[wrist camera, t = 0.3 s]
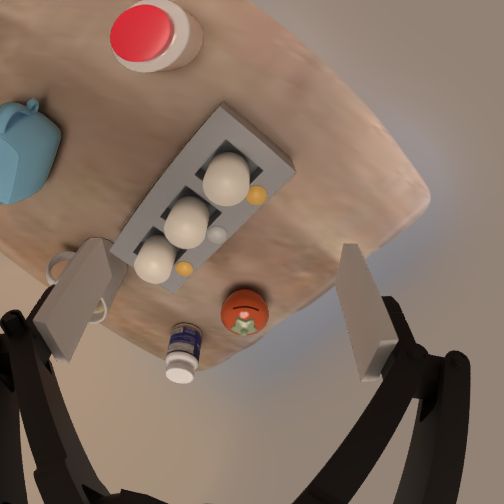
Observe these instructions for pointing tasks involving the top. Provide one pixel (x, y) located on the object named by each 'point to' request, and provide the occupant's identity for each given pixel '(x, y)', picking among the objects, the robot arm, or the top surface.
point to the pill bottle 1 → (155, 37)
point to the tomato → (244, 312)
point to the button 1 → (155, 259)
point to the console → (191, 184)
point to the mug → (109, 294)
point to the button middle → (187, 222)
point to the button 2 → (227, 179)
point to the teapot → (25, 150)
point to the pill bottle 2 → (183, 353)
